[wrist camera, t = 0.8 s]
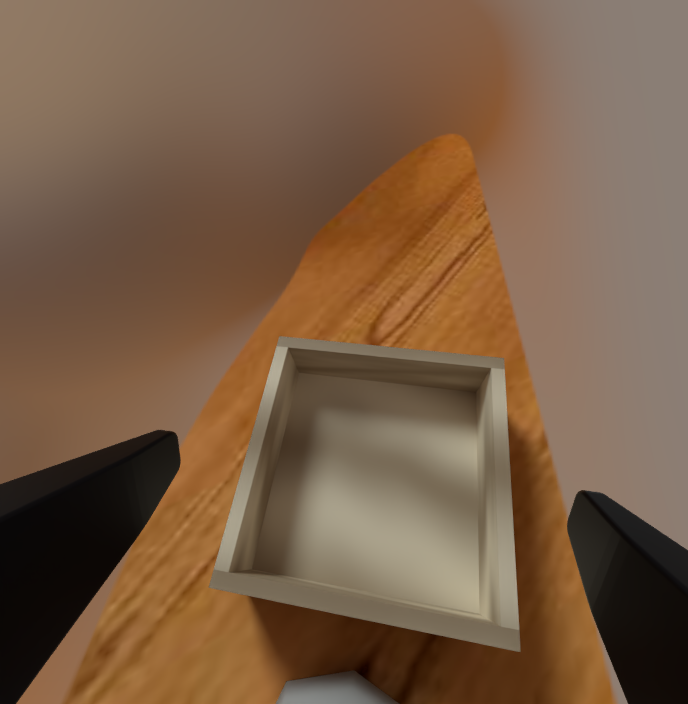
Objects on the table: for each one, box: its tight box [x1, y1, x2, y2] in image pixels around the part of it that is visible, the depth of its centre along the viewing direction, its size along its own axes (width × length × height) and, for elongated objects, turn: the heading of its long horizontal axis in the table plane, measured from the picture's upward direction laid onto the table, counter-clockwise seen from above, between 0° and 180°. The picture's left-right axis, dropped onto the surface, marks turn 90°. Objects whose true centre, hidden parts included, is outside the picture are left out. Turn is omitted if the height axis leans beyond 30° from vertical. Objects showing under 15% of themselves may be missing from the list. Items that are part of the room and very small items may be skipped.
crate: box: [209, 336, 521, 652], centre depth 17 cm, size 11×11×4 cm
